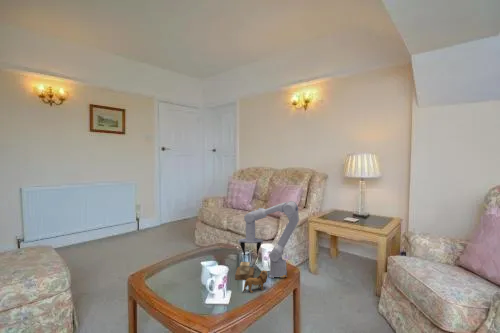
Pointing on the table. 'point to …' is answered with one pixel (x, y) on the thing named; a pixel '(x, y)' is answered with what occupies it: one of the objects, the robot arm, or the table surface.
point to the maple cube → (244, 267)
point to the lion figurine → (256, 281)
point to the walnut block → (244, 276)
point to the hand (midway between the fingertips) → (250, 254)
